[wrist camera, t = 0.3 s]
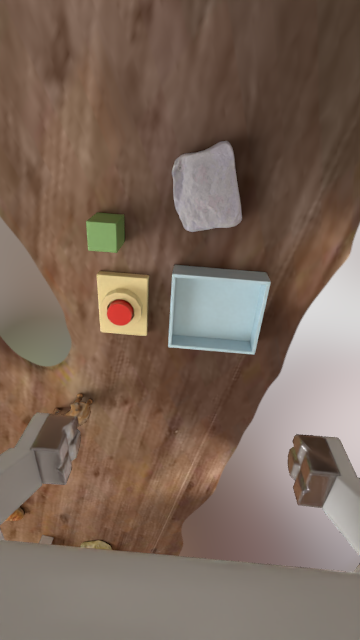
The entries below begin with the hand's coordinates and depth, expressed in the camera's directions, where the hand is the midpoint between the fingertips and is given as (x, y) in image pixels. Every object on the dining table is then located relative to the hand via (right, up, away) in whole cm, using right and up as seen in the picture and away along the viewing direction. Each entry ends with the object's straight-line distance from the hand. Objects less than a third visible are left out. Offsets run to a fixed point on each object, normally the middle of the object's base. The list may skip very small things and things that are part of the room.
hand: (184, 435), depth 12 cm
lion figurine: (-24, -14, +63) cm, 69 cm away
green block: (-12, +20, +42) cm, 48 cm away
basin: (+6, +7, +48) cm, 49 cm away
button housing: (-11, +8, +49) cm, 51 cm away
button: (-11, +6, +47) cm, 48 cm away
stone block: (+4, +25, +39) cm, 46 cm away
